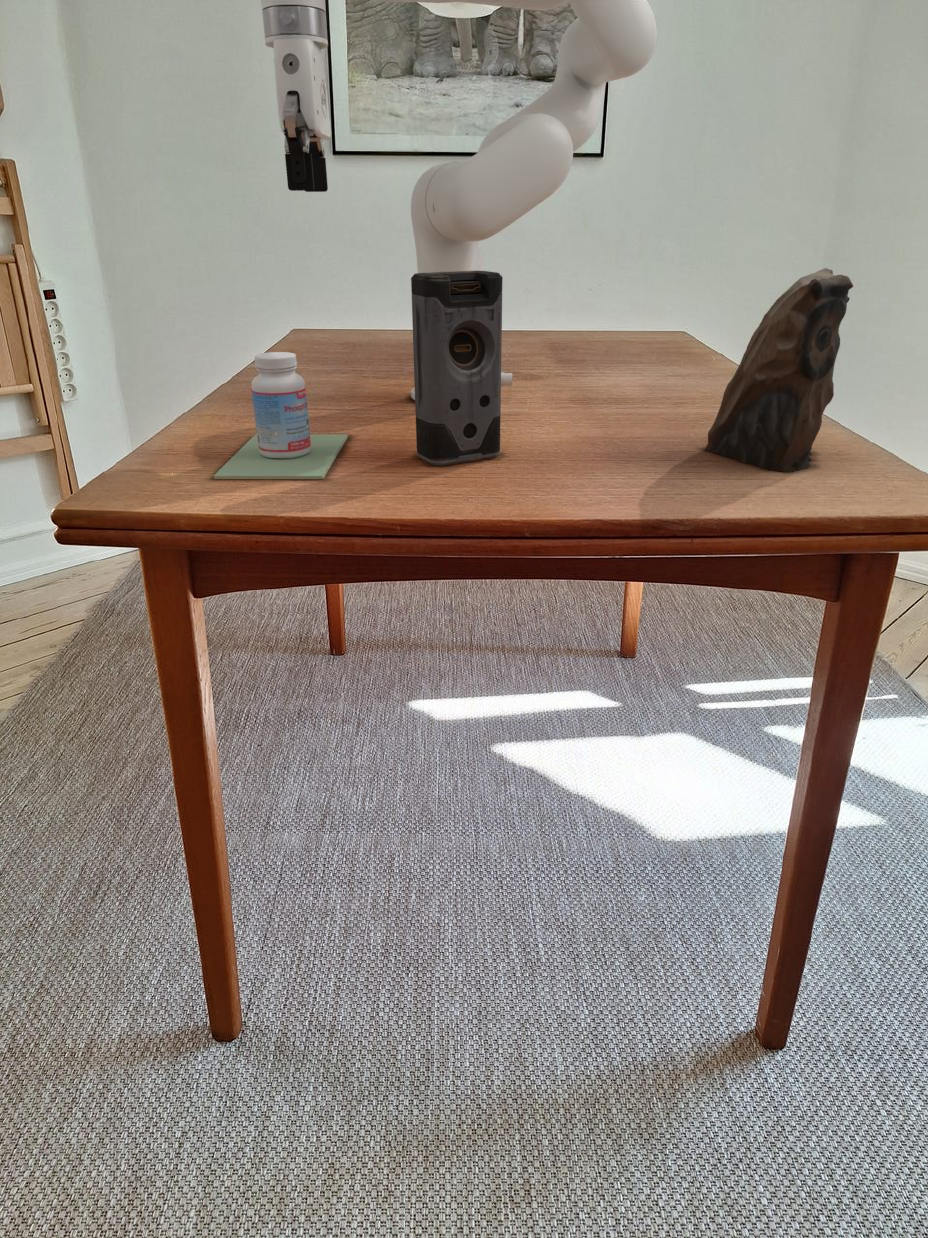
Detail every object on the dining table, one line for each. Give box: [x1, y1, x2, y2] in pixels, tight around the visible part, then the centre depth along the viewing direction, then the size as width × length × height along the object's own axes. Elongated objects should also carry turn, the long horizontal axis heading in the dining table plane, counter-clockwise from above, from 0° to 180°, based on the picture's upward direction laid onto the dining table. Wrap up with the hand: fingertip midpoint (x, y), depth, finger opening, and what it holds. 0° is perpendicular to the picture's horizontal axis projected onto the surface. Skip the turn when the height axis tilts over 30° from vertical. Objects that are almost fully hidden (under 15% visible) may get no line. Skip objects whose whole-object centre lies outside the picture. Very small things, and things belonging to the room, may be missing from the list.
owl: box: [704, 267, 854, 473], centre depth 90 cm, size 13×13×20 cm
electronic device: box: [410, 270, 503, 467], centre depth 91 cm, size 9×6×20 cm, turn 117°
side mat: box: [213, 433, 349, 480], centre depth 96 cm, size 12×18×1 cm, turn 179°
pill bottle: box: [250, 351, 311, 458], centre depth 94 cm, size 6×6×11 cm
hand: (309, 190), depth 106 cm, fingers open, 9 cm apart
